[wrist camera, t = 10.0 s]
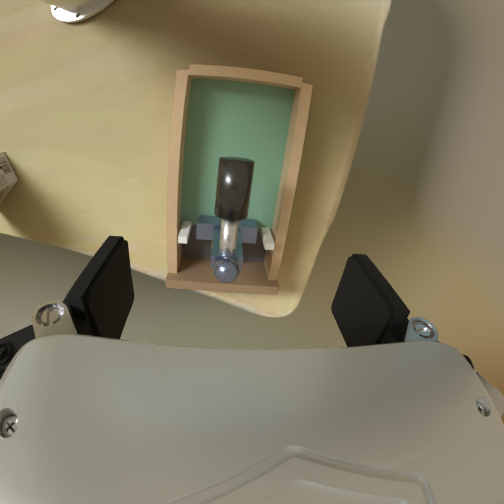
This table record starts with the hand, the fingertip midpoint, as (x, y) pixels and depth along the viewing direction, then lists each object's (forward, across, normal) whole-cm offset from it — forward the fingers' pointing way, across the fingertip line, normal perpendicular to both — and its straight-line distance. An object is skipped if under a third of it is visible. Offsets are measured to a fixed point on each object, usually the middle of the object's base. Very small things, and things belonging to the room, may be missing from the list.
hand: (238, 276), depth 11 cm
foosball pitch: (+24, 0, +2) cm, 24 cm away
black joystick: (+22, 0, +4) cm, 22 cm away
